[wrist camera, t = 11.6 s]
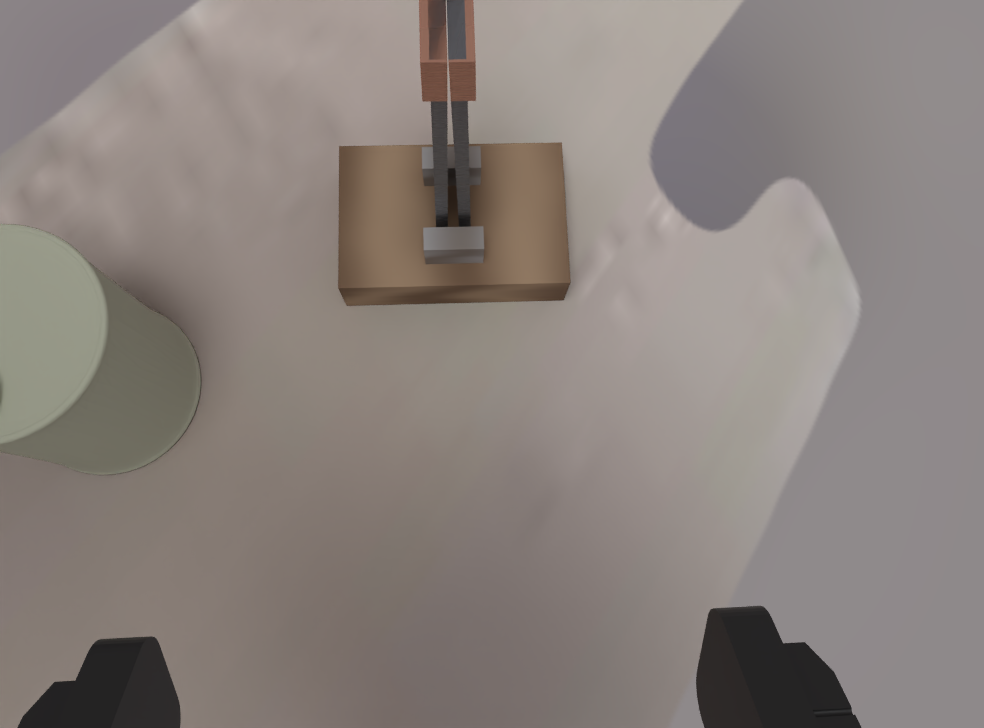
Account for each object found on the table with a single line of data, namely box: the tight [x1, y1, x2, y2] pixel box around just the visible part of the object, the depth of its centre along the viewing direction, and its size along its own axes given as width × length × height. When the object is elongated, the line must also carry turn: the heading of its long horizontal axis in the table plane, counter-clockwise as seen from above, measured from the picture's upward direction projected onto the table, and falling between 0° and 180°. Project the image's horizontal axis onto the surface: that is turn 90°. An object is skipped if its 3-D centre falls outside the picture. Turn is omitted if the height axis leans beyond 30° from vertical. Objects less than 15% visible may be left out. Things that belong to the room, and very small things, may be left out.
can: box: [0, 224, 201, 475], centre depth 37 cm, size 9×9×12 cm
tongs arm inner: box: [419, 0, 448, 227], centre depth 34 cm, size 1×3×15 cm, turn 3°
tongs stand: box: [338, 143, 570, 306], centre depth 43 cm, size 12×8×5 cm, turn 92°
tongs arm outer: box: [447, 0, 476, 227], centre depth 34 cm, size 1×3×15 cm, turn 2°
